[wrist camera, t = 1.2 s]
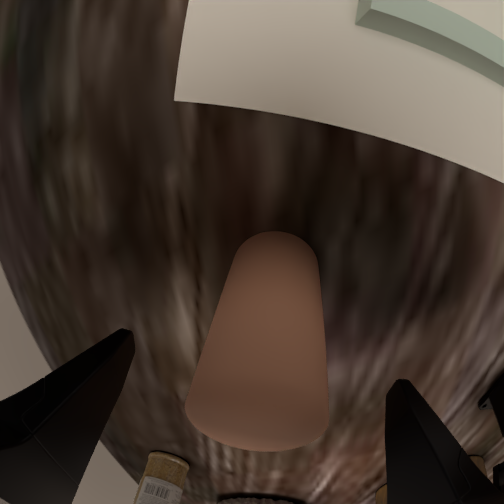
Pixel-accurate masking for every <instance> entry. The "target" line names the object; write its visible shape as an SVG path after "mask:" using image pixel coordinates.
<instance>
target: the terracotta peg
mask: <svg viewBox="0 0 504 504" xmlns="http://www.w3.org/2000/svg"><path fill="white" fill-rule="evenodd" d="M185 412H186V415H187V417H188V419H189V420H190V422H191V423H192V424H193V425H194V426H195V427H196V428H197V429H198V430H199V431H201V432H202V433H203V434H205V435H207V436H208V437H210V438H212V439H214V440H216V441H218V442H220V443H223V444H226V445H229V446H232V447H236V448H240V449H245V450H251V451H265V452H271V451H283V450H290V449H294V448H298V447H301V446H304V445H307V444H309V443H311V442H313V441H314V440H316V439H317V438H319V437H320V436H321V435H322V434H323V433H324V432H325V430H326V429H327V427H328V424H329V399H328V378H327V360H326V345H325V331H324V319H323V307H322V296H321V285H320V275H319V266H318V261H317V258H316V255H315V253H314V251H313V250H312V249H311V247H310V246H309V245H308V244H307V243H306V242H305V241H303V240H302V239H301V238H299V237H297V236H295V235H293V234H290V233H286V232H281V231H268V232H263V233H259V234H256V235H254V236H252V237H250V238H249V239H247V240H246V241H245V242H244V243H243V244H242V245H241V246H240V247H239V248H238V250H237V252H236V254H235V256H234V259H233V262H232V265H231V268H230V271H229V274H228V277H227V279H226V282H225V285H224V288H223V291H222V294H221V297H220V300H219V303H218V306H217V309H216V312H215V315H214V317H213V320H212V323H211V326H210V329H209V332H208V335H207V338H206V341H205V344H204V347H203V350H202V353H201V356H200V359H199V362H198V365H197V368H196V371H195V374H194V377H193V380H192V383H191V386H190V389H189V392H188V395H187V398H186V401H185Z"/></svg>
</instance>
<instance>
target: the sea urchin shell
mask: <svg viewBox="0 0 504 504" xmlns="http://www.w3.org/2000/svg"><path fill="white" fill-rule="evenodd" d="M217 504H293V503H292V502H287V501H284V500H283V501H282V500H278V501H273V500H272V499H265V498H263V499H256V498H254V497H253V498H250V497H248V498H242V499H241V498H236V499H232V498H231V499H228V500H223V501H220V502H217Z"/></svg>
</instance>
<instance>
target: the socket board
mask: <svg viewBox="0 0 504 504" xmlns="http://www.w3.org/2000/svg"><path fill="white" fill-rule="evenodd" d="M174 101H184V102H195V103H205V104H214V105H223V106H231V107H238V108H245V109H252V110H259V111H265V112H271V113H276V114H282V115H287V116H293V117H298V118H303V119H308V120H312V121H317V122H321V123H326V124H330V125H334V126H339V127H343V128H347V129H351V130H354V131H358V132H362V133H366V134H369V135H373V136H377V137H380V138H383V139H387V140H390V141H394V142H397V143H400V144H403V145H406V146H409V147H412V148H416V149H419V150H421V151H424V152H427V153H430V154H433V155H436V156H439V157H441V158H444V159H447V160H449V161H452V162H455V163H457V164H460V165H462V166H465V167H467V168H470V169H472V170H475V171H477V172H480V173H482V174H484V175H487V176H489V177H491V178H493V179H496V180H498V181H500V182H502V183H504V0H189V4H188V9H187V14H186V20H185V26H184V32H183V38H182V44H181V51H180V57H179V64H178V72H177V79H176V87H175V96H174Z"/></svg>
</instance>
